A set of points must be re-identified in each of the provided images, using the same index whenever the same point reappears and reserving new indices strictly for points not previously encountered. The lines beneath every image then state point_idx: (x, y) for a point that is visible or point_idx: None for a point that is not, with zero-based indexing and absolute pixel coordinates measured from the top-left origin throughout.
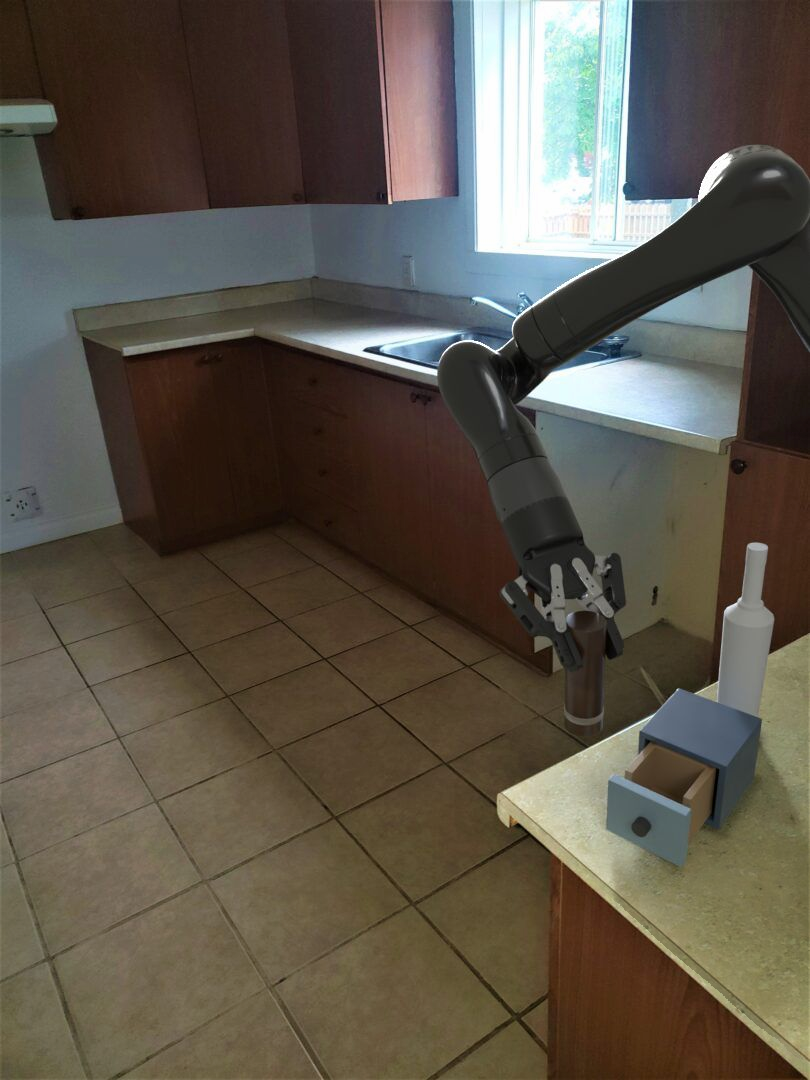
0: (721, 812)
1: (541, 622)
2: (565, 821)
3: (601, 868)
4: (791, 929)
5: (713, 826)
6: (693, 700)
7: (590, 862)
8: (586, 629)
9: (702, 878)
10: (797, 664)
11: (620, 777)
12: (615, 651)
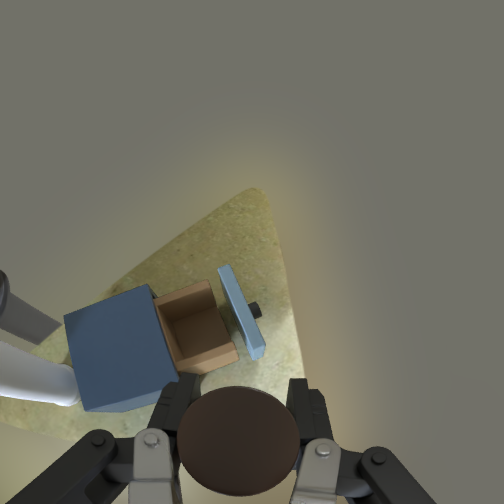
0: None
1: (381, 464)
2: (286, 390)
3: (289, 328)
4: (202, 224)
5: None
6: (88, 383)
7: (294, 338)
8: (266, 406)
9: None
10: None
11: (250, 340)
12: (196, 379)
